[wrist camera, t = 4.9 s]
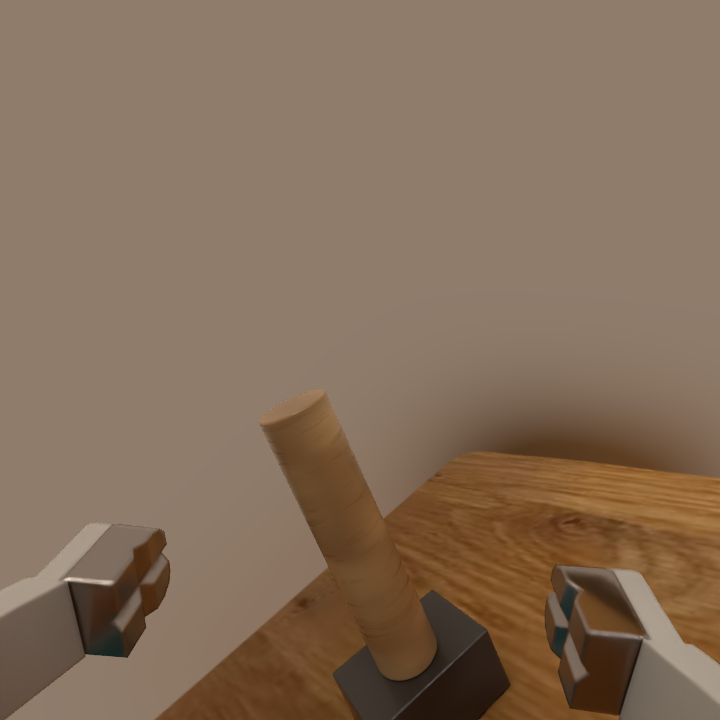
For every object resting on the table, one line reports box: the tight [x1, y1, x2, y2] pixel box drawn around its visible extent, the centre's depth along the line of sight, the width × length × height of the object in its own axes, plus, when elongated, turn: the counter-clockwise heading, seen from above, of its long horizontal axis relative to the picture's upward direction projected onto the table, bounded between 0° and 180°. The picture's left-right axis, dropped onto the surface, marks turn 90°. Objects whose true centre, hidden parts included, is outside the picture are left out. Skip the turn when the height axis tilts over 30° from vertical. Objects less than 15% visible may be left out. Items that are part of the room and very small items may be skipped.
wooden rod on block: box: [259, 390, 510, 720], centre depth 19 cm, size 6×4×15 cm, turn 119°
